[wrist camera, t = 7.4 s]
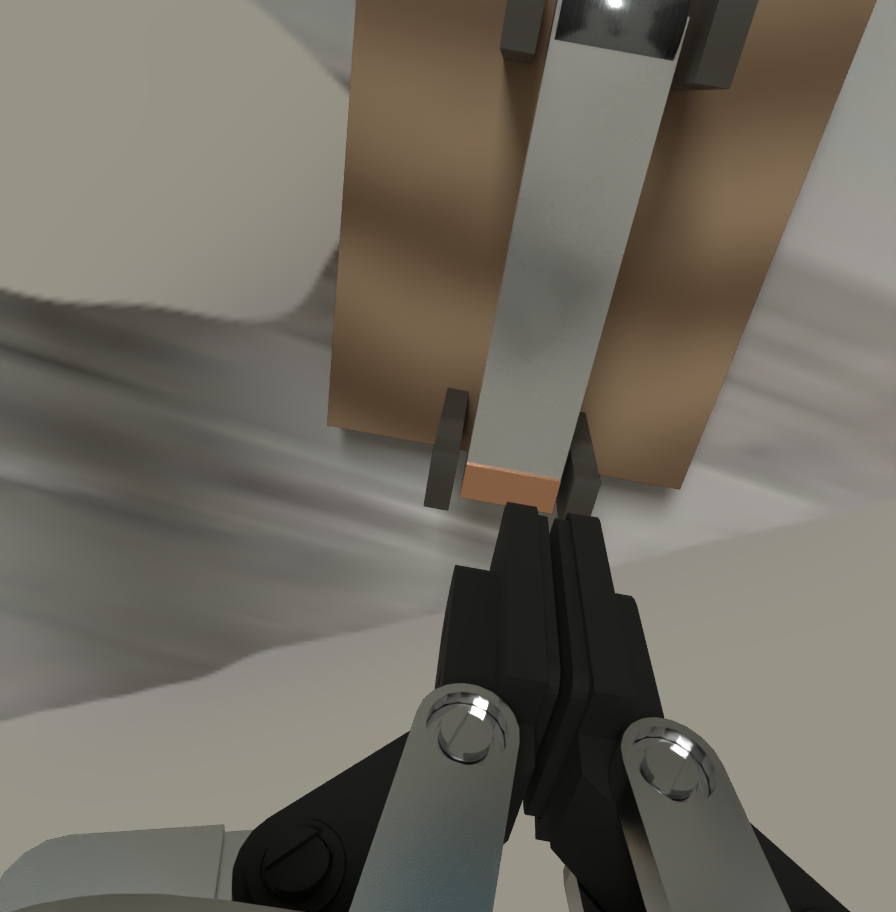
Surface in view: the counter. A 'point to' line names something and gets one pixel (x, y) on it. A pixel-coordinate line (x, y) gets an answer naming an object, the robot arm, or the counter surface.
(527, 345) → the strap
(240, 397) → the counter surface
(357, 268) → the clamp board
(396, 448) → the counter surface
